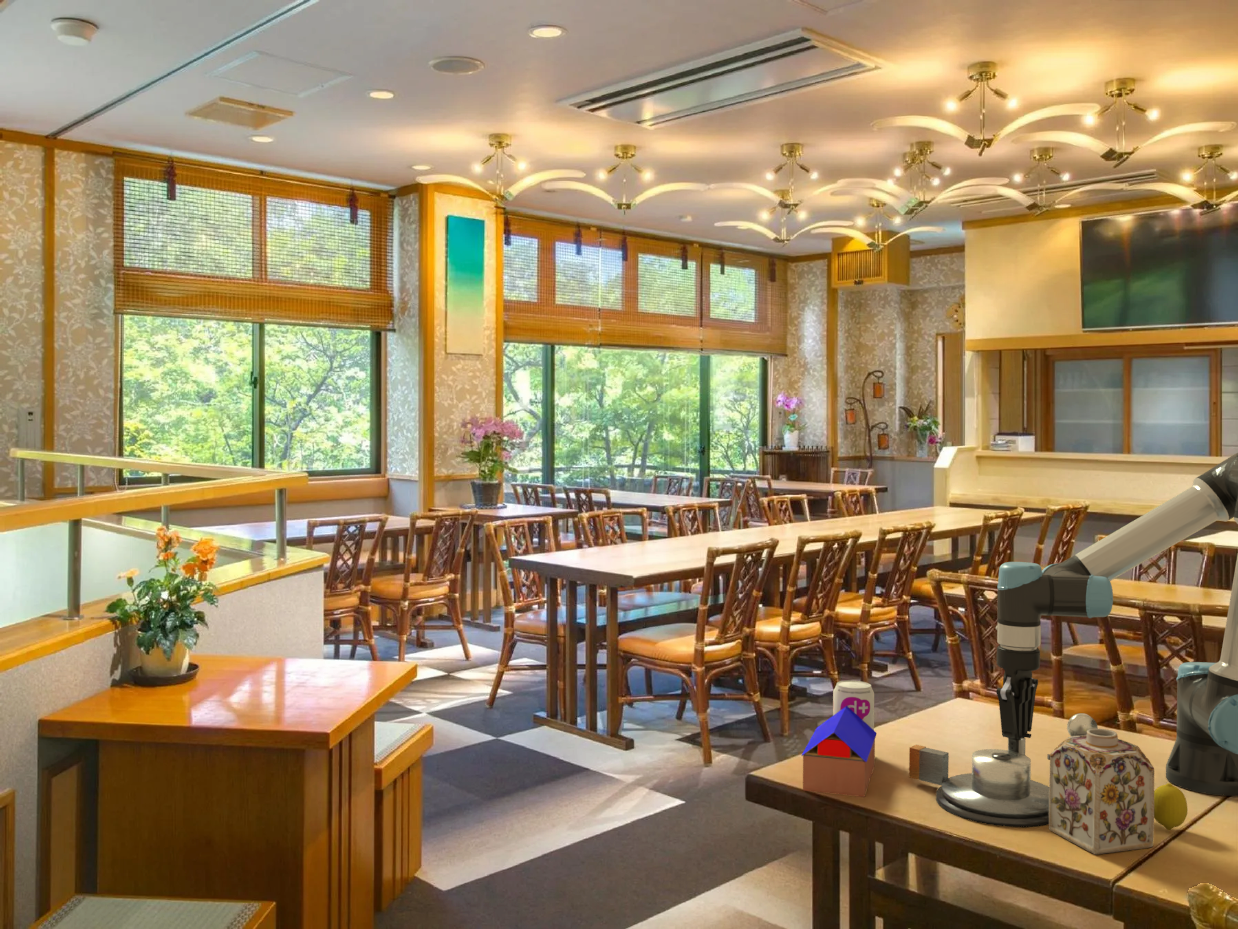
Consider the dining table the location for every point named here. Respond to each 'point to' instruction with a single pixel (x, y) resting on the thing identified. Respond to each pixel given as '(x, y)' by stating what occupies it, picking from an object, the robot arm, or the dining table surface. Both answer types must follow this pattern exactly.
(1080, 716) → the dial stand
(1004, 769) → the cover
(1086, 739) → the decorative jar
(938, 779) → the turntable
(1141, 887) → the dining table surface
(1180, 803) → the lemon
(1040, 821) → the turntable base
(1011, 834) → the dining table surface
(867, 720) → the supplement can
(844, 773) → the house
